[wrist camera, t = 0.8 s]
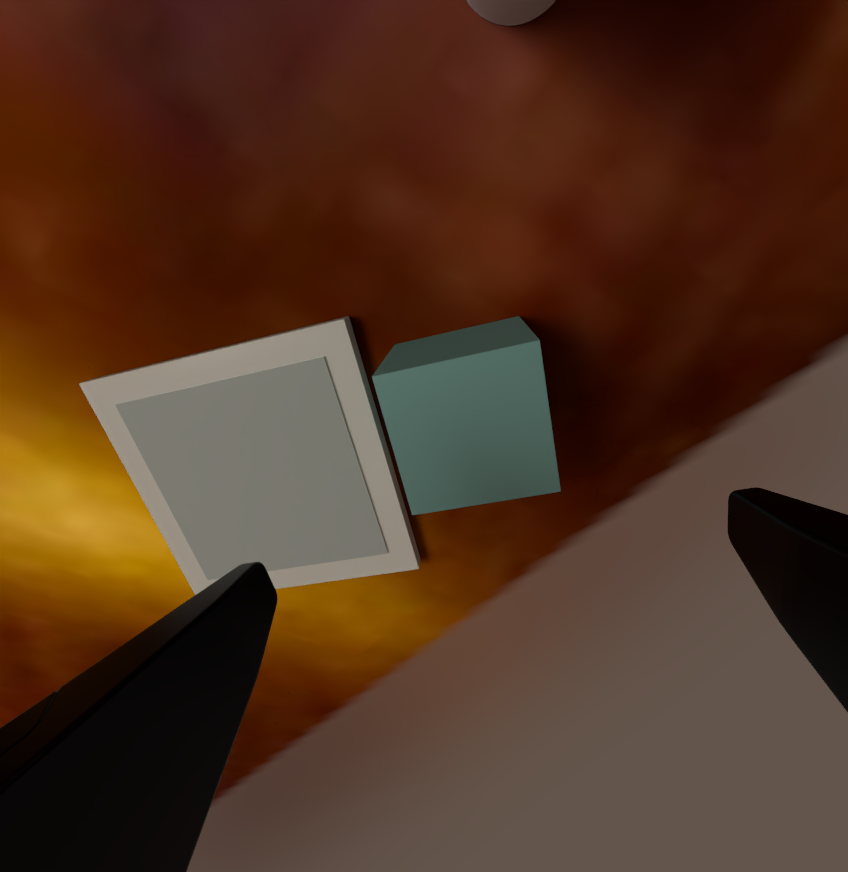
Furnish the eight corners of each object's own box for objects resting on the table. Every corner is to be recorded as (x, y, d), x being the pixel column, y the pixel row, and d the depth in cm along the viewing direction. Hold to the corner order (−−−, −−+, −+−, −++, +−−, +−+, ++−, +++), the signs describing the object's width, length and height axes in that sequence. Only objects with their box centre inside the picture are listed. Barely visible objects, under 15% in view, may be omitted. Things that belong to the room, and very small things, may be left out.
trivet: (348, 316, 17) (343, 319, 16) (420, 557, 22) (418, 570, 21) (93, 378, 19) (76, 384, 18) (206, 588, 24) (196, 601, 23)
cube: (518, 315, 17) (539, 340, 12) (536, 432, 19) (560, 491, 14) (395, 344, 18) (371, 376, 13) (424, 453, 20) (412, 515, 15)
